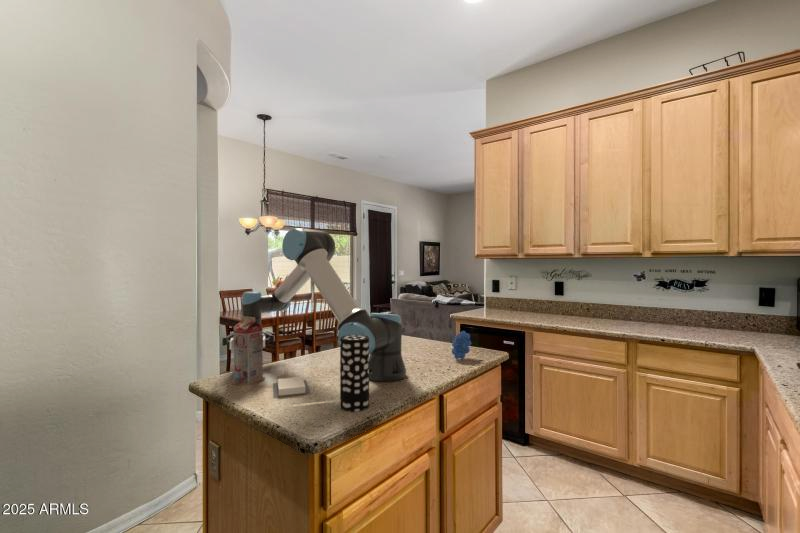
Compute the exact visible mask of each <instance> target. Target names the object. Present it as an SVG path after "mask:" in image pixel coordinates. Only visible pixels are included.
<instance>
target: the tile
mask: <svg viewBox="0 0 800 533" xmlns="http://www.w3.org/2000/svg"><path fill="white" fill-rule="evenodd" d="M277 383H278V394H279V396H287V395H296V394H304V393H305V384H304V377H303V376H296V377H285V378H278V379H277Z"/></svg>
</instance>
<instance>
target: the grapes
mask: <svg viewBox="0 0 800 533" xmlns="http://www.w3.org/2000/svg"><path fill="white" fill-rule="evenodd" d="M451 345H452V347H453V348H452V349H451V353H452V355H453V356H454V359H456V360H458V359H461V358H463V359H464V358H465V357H466V355H467V354H468V353H469V352H470V346H471V345H472V341H471V335H470V333H467V332H466V331H465V330H462V331H461V332H460V333H457V334H456V335H455V338H454V339H453V341H452V343H451Z"/></svg>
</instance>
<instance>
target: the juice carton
mask: <svg viewBox="0 0 800 533" xmlns="http://www.w3.org/2000/svg"><path fill="white" fill-rule="evenodd" d="M233 334H234V346H233V379H234V381H237V382H242V383H251V382H253V381H256V380H259V379H262V378H263V377H264V373H263V372H264V371H263V369H264V368H263V355H264V354H263V342H262V334H263V325H262V323H261V324H259V323H257V322H255V317H244V316H242V315H241V316H240V321H239V322H237V323H236V324H235V325H234V326H233Z"/></svg>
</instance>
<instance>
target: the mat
mask: <svg viewBox="0 0 800 533" xmlns="http://www.w3.org/2000/svg"><path fill="white" fill-rule="evenodd" d="M303 380H304V379H303ZM304 384H305V393H304V394H296V395H287V396H279V394H278V382H274V383H272V389H273V390H272V393H273V394H272V395H273V398H272V399H278V398H287V397H296V396H297V397H298V396H305V395H311V391H310V388H309V386H308V382H307V380H306V379H305V380H304Z"/></svg>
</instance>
